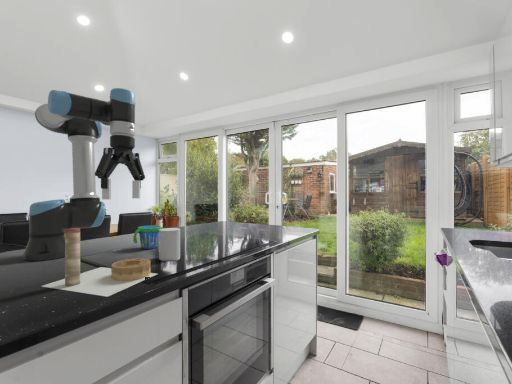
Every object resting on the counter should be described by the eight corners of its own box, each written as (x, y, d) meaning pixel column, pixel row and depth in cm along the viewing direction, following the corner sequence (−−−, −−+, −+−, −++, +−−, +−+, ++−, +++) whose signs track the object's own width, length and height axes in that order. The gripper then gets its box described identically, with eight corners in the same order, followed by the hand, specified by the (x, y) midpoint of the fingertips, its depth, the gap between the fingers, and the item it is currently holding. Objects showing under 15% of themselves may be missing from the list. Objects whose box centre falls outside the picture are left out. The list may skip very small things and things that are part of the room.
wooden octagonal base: (103, 278, 83) (103, 265, 83) (130, 268, 93) (130, 257, 93) (132, 282, 79) (132, 269, 79) (157, 272, 90) (157, 260, 90)
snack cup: (139, 252, 120) (139, 229, 120) (128, 248, 127) (128, 227, 127) (170, 246, 132) (170, 226, 132) (158, 243, 139) (158, 224, 139)
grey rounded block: (183, 256, 112) (183, 228, 112) (175, 261, 104) (175, 231, 104) (164, 256, 113) (164, 227, 113) (155, 261, 105) (155, 230, 105)
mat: (40, 287, 76) (40, 286, 76) (100, 268, 95) (100, 267, 95) (107, 298, 69) (107, 296, 69) (158, 275, 88) (158, 273, 88)
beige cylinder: (62, 285, 77) (62, 229, 77) (73, 281, 80) (74, 227, 80) (71, 286, 76) (71, 230, 75) (83, 282, 79) (83, 228, 79)
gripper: (101, 127, 78) (101, 200, 78) (155, 142, 102) (154, 198, 102) (81, 128, 80) (81, 199, 80) (138, 143, 104) (138, 197, 104)
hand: (122, 199), depth 91 cm, fingers open, 13 cm apart
